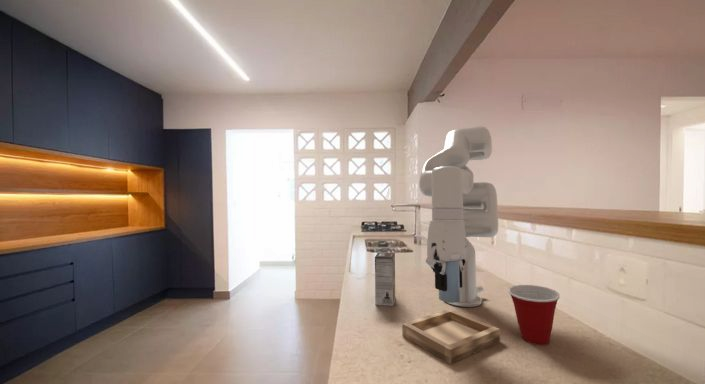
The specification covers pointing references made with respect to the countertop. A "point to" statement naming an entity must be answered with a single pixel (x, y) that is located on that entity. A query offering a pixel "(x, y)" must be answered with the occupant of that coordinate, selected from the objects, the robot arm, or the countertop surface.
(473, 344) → the tray
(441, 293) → the shaker
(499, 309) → the countertop surface
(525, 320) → the plastic cup
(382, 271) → the coffee box
